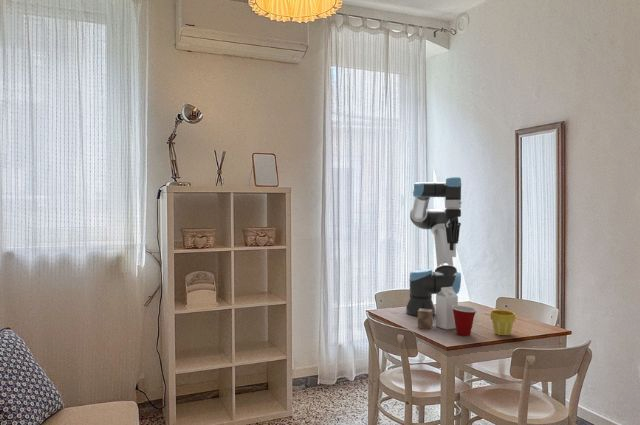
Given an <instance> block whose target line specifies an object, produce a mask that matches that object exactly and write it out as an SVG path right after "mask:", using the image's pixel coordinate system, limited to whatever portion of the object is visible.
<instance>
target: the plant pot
mask: <svg viewBox="0 0 640 425" xmlns="http://www.w3.org/2000/svg"><path fill="white" fill-rule="evenodd" d="M489 315H490V320H491V321H492V328H493V331H494V332H493V333H494V335H496V334H498V335H497V336H500V335H509V336H511V334H512V329H513V324H514V323H515V322H516V313H515V312H513V311H509V310H506V309H503V310H502V309H492V310H490V314H489Z"/></svg>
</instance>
